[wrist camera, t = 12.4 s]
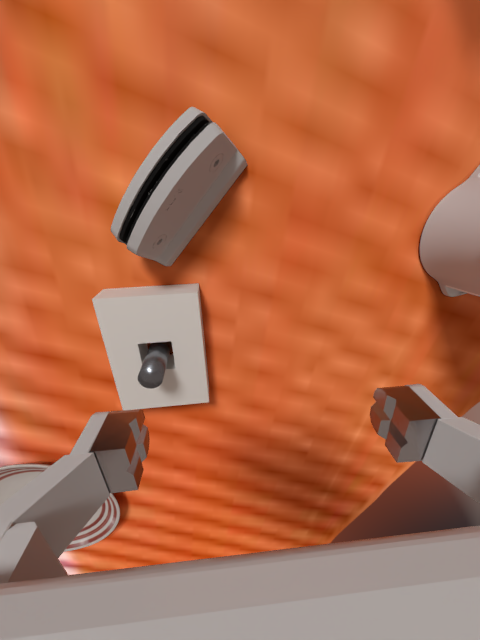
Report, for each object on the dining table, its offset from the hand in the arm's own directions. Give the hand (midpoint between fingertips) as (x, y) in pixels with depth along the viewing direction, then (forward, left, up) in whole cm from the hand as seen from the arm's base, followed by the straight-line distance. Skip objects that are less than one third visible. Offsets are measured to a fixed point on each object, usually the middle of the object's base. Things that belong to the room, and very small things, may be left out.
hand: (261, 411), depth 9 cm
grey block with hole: (+10, +13, -30) cm, 34 cm away
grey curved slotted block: (+5, -7, -30) cm, 31 cm away
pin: (+10, +13, -30) cm, 34 cm away
